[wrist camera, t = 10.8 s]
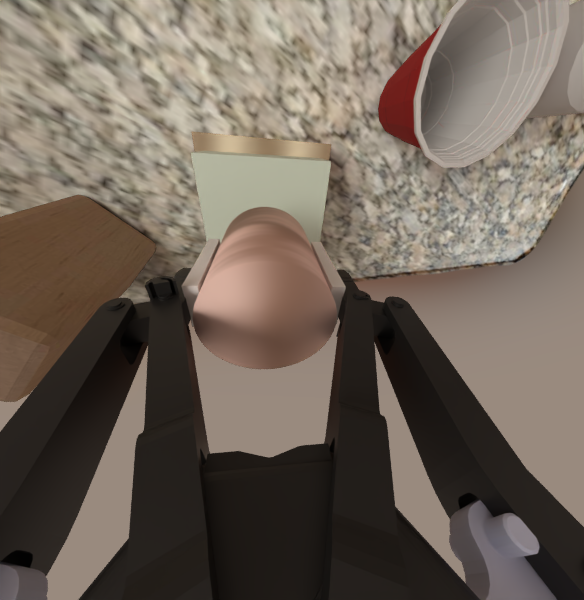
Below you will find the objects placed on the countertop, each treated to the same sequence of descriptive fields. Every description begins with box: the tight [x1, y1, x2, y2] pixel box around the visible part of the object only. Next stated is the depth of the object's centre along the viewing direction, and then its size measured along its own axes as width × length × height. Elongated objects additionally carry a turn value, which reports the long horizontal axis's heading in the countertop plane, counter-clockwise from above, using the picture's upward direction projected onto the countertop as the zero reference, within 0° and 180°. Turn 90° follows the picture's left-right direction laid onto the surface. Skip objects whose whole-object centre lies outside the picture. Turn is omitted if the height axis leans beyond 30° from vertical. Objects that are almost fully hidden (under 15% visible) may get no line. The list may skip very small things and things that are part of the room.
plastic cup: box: [378, 0, 569, 168], centre depth 20 cm, size 11×11×12 cm
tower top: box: [191, 151, 331, 245], centre depth 24 cm, size 12×12×5 cm
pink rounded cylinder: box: [193, 207, 337, 369], centre depth 14 cm, size 7×7×9 cm
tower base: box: [192, 132, 331, 161], centre depth 28 cm, size 14×14×5 cm
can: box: [526, 0, 584, 118], centre depth 20 cm, size 8×8×12 cm
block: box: [0, 195, 156, 402], centre depth 23 cm, size 10×10×20 cm
